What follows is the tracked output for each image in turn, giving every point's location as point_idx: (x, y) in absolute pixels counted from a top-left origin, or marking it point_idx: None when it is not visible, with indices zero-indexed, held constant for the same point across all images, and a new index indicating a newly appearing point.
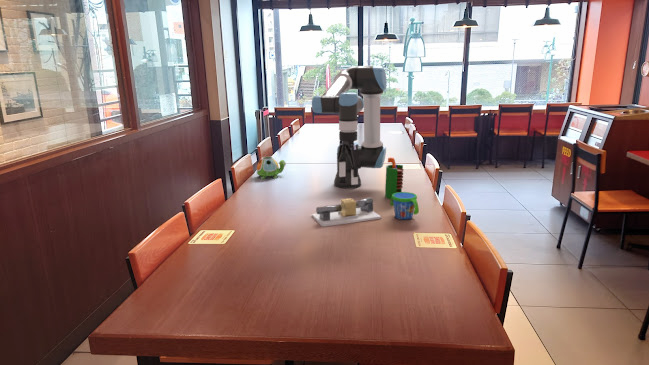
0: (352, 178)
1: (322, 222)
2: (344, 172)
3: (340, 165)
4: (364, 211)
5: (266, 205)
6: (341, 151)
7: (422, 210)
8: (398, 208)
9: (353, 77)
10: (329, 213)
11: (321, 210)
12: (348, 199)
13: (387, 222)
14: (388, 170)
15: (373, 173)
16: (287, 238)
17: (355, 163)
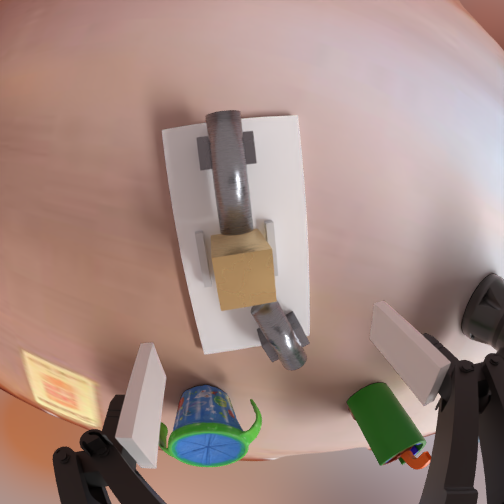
0: (132, 378)
1: (182, 134)
2: (383, 349)
3: (422, 357)
4: None
5: (420, 33)
6: (497, 441)
7: None
8: (184, 410)
9: None
10: (200, 167)
11: (208, 129)
12: (261, 284)
13: (168, 356)
14: (401, 442)
15: None
16: (100, 21)
17: (63, 492)
